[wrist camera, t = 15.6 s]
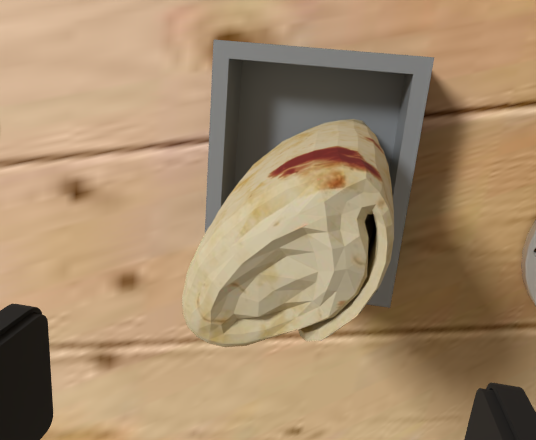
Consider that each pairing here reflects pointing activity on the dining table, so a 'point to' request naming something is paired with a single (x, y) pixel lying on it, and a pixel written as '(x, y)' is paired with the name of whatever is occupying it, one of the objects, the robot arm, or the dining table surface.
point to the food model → (295, 241)
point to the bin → (313, 114)
